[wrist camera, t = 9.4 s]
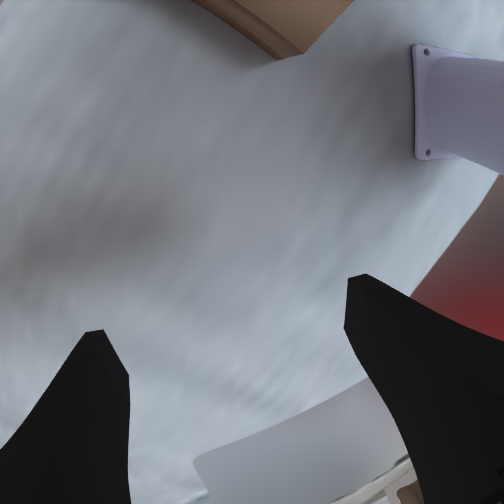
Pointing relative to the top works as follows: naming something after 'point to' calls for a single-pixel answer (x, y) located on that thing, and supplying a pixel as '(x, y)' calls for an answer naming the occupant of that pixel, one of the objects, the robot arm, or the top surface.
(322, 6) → the walnut base
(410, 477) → the gable box
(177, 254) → the top surface
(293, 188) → the top surface
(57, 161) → the top surface
